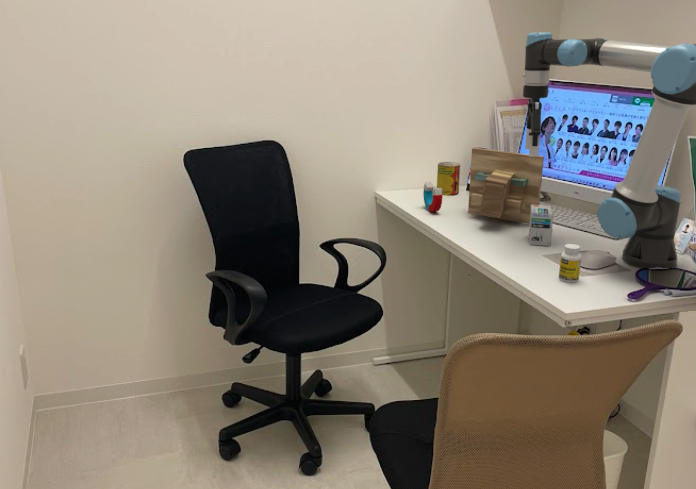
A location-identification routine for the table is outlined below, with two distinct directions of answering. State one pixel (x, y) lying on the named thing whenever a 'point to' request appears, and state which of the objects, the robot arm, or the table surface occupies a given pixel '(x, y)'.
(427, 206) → the magnet
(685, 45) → the robot arm
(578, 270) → the supplement bottle
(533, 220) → the light bulb box
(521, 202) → the wall board
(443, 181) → the beverage can
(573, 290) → the table surface
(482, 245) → the table surface
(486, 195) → the cabinet
